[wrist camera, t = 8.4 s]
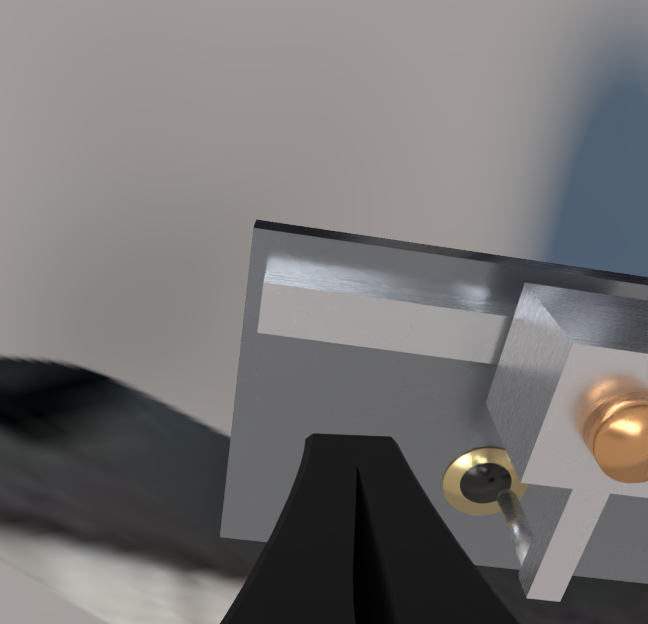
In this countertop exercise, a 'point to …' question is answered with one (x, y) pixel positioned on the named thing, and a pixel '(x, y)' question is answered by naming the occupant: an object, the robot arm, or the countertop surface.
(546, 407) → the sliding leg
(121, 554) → the countertop surface
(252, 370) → the aluminium mounting plate
